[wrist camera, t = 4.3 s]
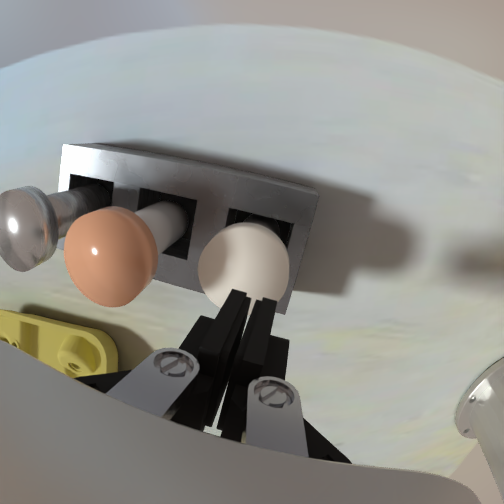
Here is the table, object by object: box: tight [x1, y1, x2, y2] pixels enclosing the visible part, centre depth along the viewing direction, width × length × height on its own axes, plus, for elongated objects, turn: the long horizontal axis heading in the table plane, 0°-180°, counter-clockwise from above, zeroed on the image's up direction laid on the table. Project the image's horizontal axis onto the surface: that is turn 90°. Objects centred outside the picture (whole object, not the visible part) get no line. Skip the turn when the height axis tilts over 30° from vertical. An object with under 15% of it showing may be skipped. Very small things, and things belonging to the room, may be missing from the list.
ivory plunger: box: [198, 214, 289, 315], centre depth 20 cm, size 4×4×8 cm
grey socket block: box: [56, 143, 319, 315], centre depth 22 cm, size 18×8×4 cm, turn 77°
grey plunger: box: [0, 184, 111, 272], centre depth 18 cm, size 4×4×8 cm
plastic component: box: [0, 309, 118, 378], centre depth 29 cm, size 20×7×10 cm
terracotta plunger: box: [64, 200, 188, 307], centre depth 17 cm, size 4×4×8 cm
